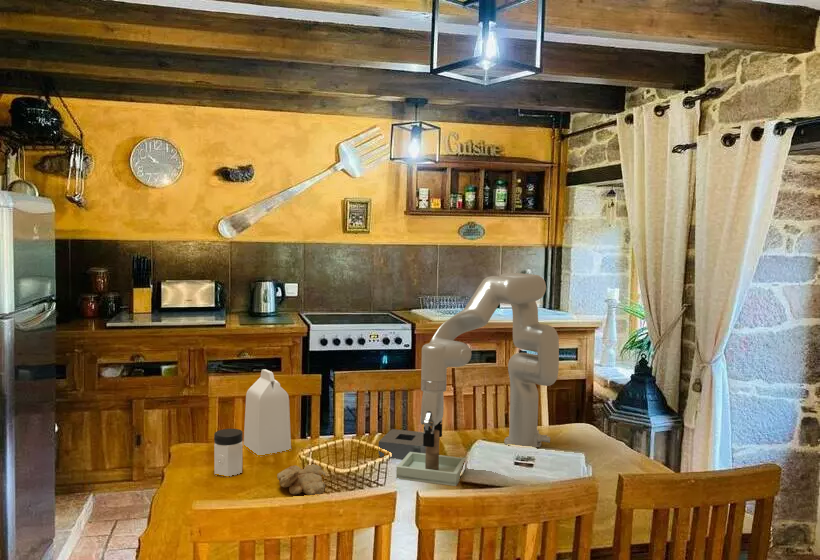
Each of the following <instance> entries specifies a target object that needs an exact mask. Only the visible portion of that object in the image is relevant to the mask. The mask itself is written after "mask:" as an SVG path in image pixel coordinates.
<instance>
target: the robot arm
mask: <svg viewBox="0 0 820 560" xmlns="http://www.w3.org/2000/svg"><path fill="white" fill-rule="evenodd" d="M546 289H547V286H546V281H545V279H544V278H543V277H542V275H538V274H534V273H533V274H531V273H521V272H504V273H502V274H500V275H499V276H497V275H491V276H486V277H485V278H483V280H482V281H481V283H480V284H479V286H478V287H477V289H475V292H474V293H473V295H472V296H471V298H470V299H469V301H468V302H467V304H466V305H465V307H464V308H463V310H460V311H459V312H457V313H456V314H454V315H453V316H451V317H450V318H449V319H447V320H445V321H444V322H443V323H442V324H441V325H440V326H439V327H438V328H437V330H436V331H435V333H434V334H433V336H432V338H431V339H430V341H429V343H425V344H424V345H422V347H421V365H420V366H421V367H420V369H421V374H420V375H421V376H420V377H421V378H420V379H421V381H420V391H422V398H421V409H420V425H423V431H422V432H423V446H426V447H434V433H433V432H434V429H435V430H439V438H442V437H443V417H444V408H445V407H444V402H445V401H444V399H445V398H444V395H445V394H444V393H445V392H447V373H448V372H447V370H448V367H449V368H451V367H452V368H454V367H455V368H459V367H463V366H466V365H467V364H469V362H470V361H471V358H472V349H471V347H470V346H469V345H468V344H466V343H465V342H463V341H459V340H455V339H456V338H457V337H459V336H460V335H462V334H464V333H467V332H471V331H474V330H476V329H480V328H483V327H484V326H486V325H487V324H488V323H489V321H490V319H491V318H492V316H493V314H494V313H495V312H496V310H497V308H498V307H499V305H500V304H507V305H510V306H511V310H512V343H513V345H514V346H515V347H516V348H518V349H520V350H524V351H529V352H533V354H532V353H529V352H517V353H515V354H512V356H510V358H509V360H508V364H507V371H508V376H509V383H510V384H509V388H510V389H509V392H510V394H509V397H510V398H509V426H508V427H509V431H508V436H506V437H505V438H504V444H505V445H506V444H515V445H522V446H532V447H539V448H541V447H542V443H543V442H544V443H549V444H551V436H548V434H541V433H540V432H539V431H540V430H539V429H538V420H539V419H538V417H539V391H538V388H537V385H539V386H543V387H544V386H545V387H549V386H552V385H554V384H555V382H556V381H557V379H558V376H559V367H560V366H559V365H560V353H559V352H560V339H559V338H560V337H559V334H558V332H557V330H556V328H555V327H553V326H552V325H549V324H544V323H539V309H538V308H539V307H538V304H537V301H539V300H540V299H542V298H543V297H544V295H545V293H546ZM534 352H535V353H537V354H534Z"/></svg>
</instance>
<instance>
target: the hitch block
mask: <svg viewBox="0 0 820 560" xmlns="http://www.w3.org/2000/svg"><path fill="white" fill-rule="evenodd" d="M379 447H380V448H382V449H385V450H387V451H389V452H391V453H392V457H391V458H390V459H394V458H396V459H397V460H403V459H404V458H405V457H406V455H407V454H408V453H409V452H417V453H425V454H426V446H423V431H422V432H421V431H414V430H404V429H395V428H391V429H390V430H389V431H388V432H387V433H386V434H385V435H384V436H383V437H382V438H381V439H380V440H378V448H379ZM378 454H379V455H380V457H379V458H383V457H382V456H384V453H382V452H380V451H379V450H378ZM396 459H395V460H396Z"/></svg>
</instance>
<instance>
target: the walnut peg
mask: <svg viewBox="0 0 820 560" xmlns="http://www.w3.org/2000/svg"><path fill="white" fill-rule="evenodd" d="M433 433H434V447H426V458H425V469H431V470H439V455H440V437H439V430H435V429H434V432H433Z"/></svg>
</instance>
